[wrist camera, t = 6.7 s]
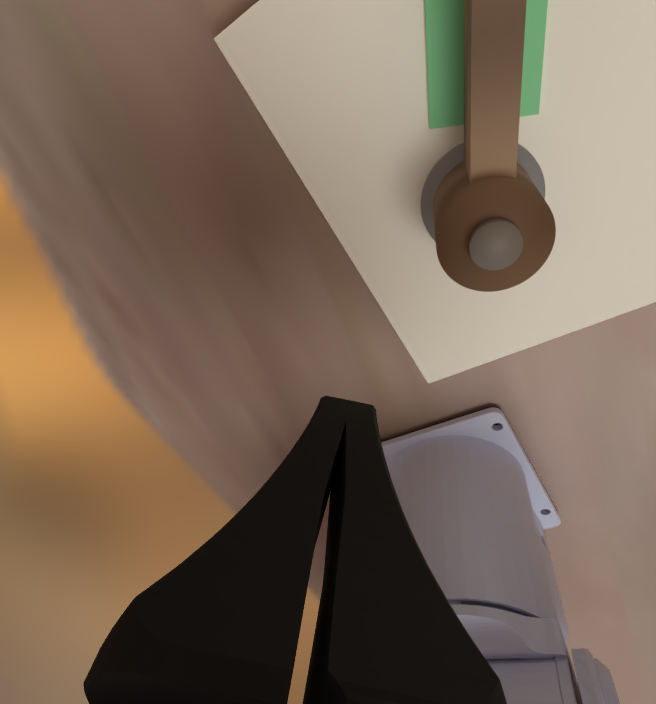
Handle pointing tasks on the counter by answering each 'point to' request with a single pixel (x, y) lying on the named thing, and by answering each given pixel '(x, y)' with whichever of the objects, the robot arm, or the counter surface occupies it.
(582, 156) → the dial board
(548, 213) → the wooden crank handle
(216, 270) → the counter surface
